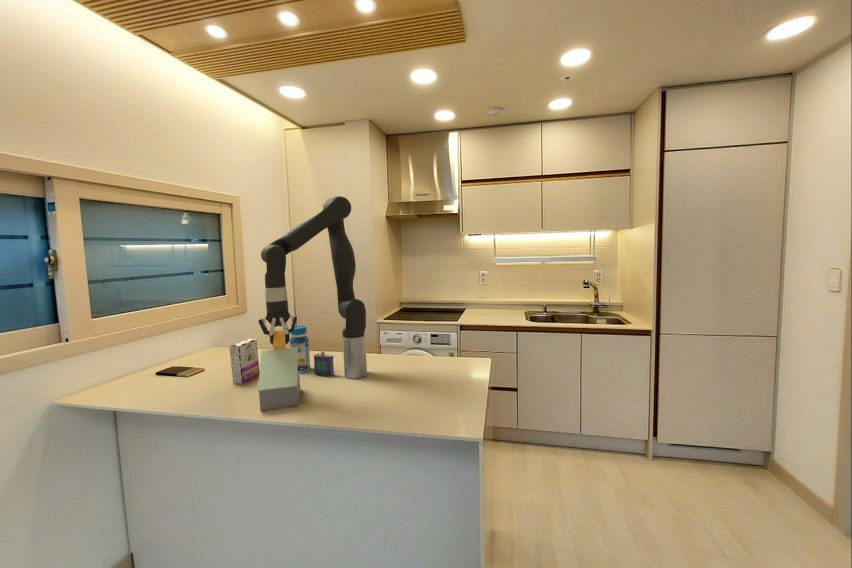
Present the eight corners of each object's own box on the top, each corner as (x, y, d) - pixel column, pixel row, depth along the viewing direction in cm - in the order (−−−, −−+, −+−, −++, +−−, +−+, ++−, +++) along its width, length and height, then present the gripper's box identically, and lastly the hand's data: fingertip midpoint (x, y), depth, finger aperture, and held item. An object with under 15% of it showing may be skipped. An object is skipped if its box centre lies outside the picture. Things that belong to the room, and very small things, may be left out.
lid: (297, 335, 140) (297, 328, 137) (297, 388, 125) (296, 382, 122) (263, 338, 137) (261, 331, 134) (258, 393, 121) (256, 386, 118)
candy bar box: (250, 374, 159) (247, 338, 158) (260, 375, 158) (257, 338, 157) (231, 383, 149) (228, 345, 147) (242, 384, 148) (239, 345, 146)
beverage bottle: (314, 368, 165) (312, 326, 163) (299, 374, 158) (296, 329, 156) (302, 366, 169) (300, 324, 167) (287, 371, 162) (284, 328, 160)
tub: (300, 389, 140) (299, 372, 139) (298, 406, 124) (296, 386, 124) (267, 394, 136) (265, 376, 136) (260, 411, 121) (258, 391, 120)
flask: (335, 374, 156) (333, 350, 155) (331, 377, 153) (330, 352, 152) (316, 373, 158) (315, 349, 157) (312, 375, 155) (311, 351, 154)
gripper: (297, 296, 139) (300, 339, 141) (257, 299, 135) (261, 343, 137) (296, 299, 131) (299, 344, 133) (254, 302, 128) (258, 349, 130)
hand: (280, 343), depth 135 cm, fingers closed on lid, 4 cm apart
